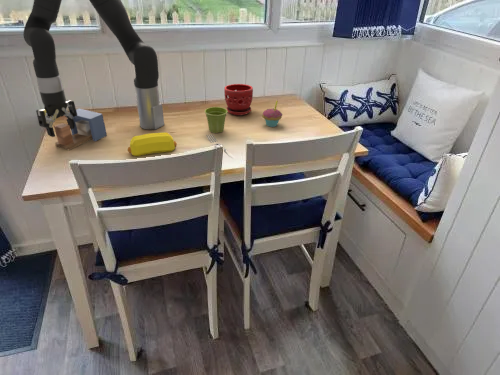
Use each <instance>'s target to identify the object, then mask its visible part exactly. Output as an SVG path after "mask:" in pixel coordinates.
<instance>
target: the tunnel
mask: <svg viewBox="0 0 500 375" xmlns="http://www.w3.org/2000/svg"><path fill="white" fill-rule="evenodd" d="M76 111H77V116H75V117H74V119H73V120H74V125H75V127H74V129H70V130H71V134H72V135H74V134H77V133H78V131H77V127H76V123H75V122H77V121H79V120H85V121H89V125H90V129H91V134H92V138H93V139H92V141H93V142H97V141H98V140H101V139H103V138H105V137H107V134H108V132H107V128H106V124H105V121H104V115H103V113H100V112H96V111H93V110H88V109H83V108H76Z"/></svg>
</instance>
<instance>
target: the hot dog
mask: <svg viewBox="0 0 500 375" xmlns="http://www.w3.org/2000/svg"><path fill="white" fill-rule="evenodd" d="M129 142H130V143H129V146H128V148H127V152H128V153H129V154H131V155H132V156H134V157H141V155H142V156H146V154H147V155H152V154H161V153H170V152H173V151H174V150H175V149H176V147H177V145H178V144H177V142H176V140H174V138H173V136H172V135H171V134H170V133H169V132H150V133H145V134H140V135H134V136H132V138H131V140H130V141H129Z"/></svg>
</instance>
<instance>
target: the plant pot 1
mask: <svg viewBox="0 0 500 375" xmlns="http://www.w3.org/2000/svg"><path fill="white" fill-rule="evenodd" d="M204 113H205V115H206V120H207V124H208V130H209V132H210V133H211V134H218V133H222V132H224V130H225V122H226V116H227V113H229V112H228V111H227V108H225V107H222V106H211V107H208V108H206V109H204Z"/></svg>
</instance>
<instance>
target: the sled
mask: <svg viewBox="0 0 500 375" xmlns="http://www.w3.org/2000/svg"><path fill="white" fill-rule="evenodd" d="M75 123H76V127H77V131H78V133H77V134H74V135H72V132H71V129H70V126H69V125H68V123H65V122H64V123H63V122H61V123H59V124H56V125H53V129H54V133H55V137H56V139H57V142H55V146H56V147H59V148H61V149H65V150H69V151H70V150H72V149H74V148H77V147H79V146H80V145H82V144H85V143H87V142H89V141H91V140H93V138H92V134H91V129H90V125H89V121H85V120H79V121H77V122H75Z"/></svg>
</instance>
